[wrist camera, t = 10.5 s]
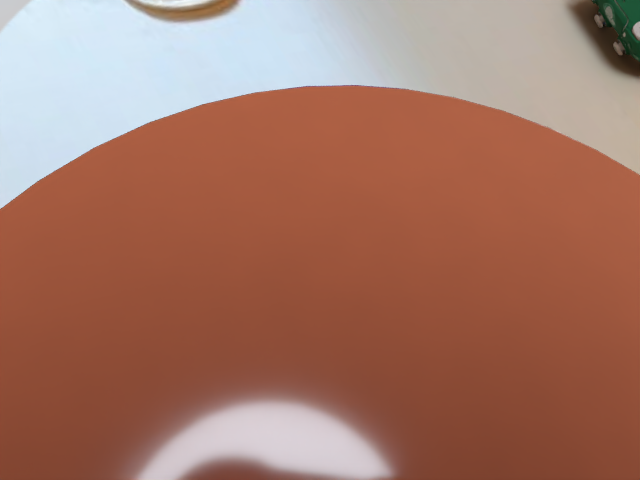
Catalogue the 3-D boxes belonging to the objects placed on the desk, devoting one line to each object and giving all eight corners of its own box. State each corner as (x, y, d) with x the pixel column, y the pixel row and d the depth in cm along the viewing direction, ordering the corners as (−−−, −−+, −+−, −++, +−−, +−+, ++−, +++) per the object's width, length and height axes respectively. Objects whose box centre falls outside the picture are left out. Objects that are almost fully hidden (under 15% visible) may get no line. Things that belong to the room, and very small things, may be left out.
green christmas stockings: (584, 17, 40) (570, -31, 36) (634, -14, 39) (625, -69, 34) (641, 100, 36) (633, 59, 32) (699, 70, 35) (699, 22, 30)
